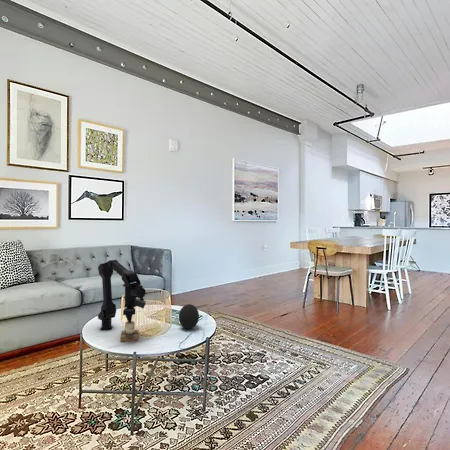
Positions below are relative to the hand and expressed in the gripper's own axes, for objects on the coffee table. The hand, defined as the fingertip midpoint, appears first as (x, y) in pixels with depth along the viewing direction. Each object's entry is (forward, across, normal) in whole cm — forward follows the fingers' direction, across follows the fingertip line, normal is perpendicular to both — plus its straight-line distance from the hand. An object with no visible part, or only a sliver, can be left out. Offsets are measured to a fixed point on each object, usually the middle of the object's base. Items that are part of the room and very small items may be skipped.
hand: (129, 322), depth 182 cm
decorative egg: (+9, +10, -34) cm, 37 cm away
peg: (+9, 0, 0) cm, 9 cm away
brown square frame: (+9, 0, 0) cm, 9 cm away
